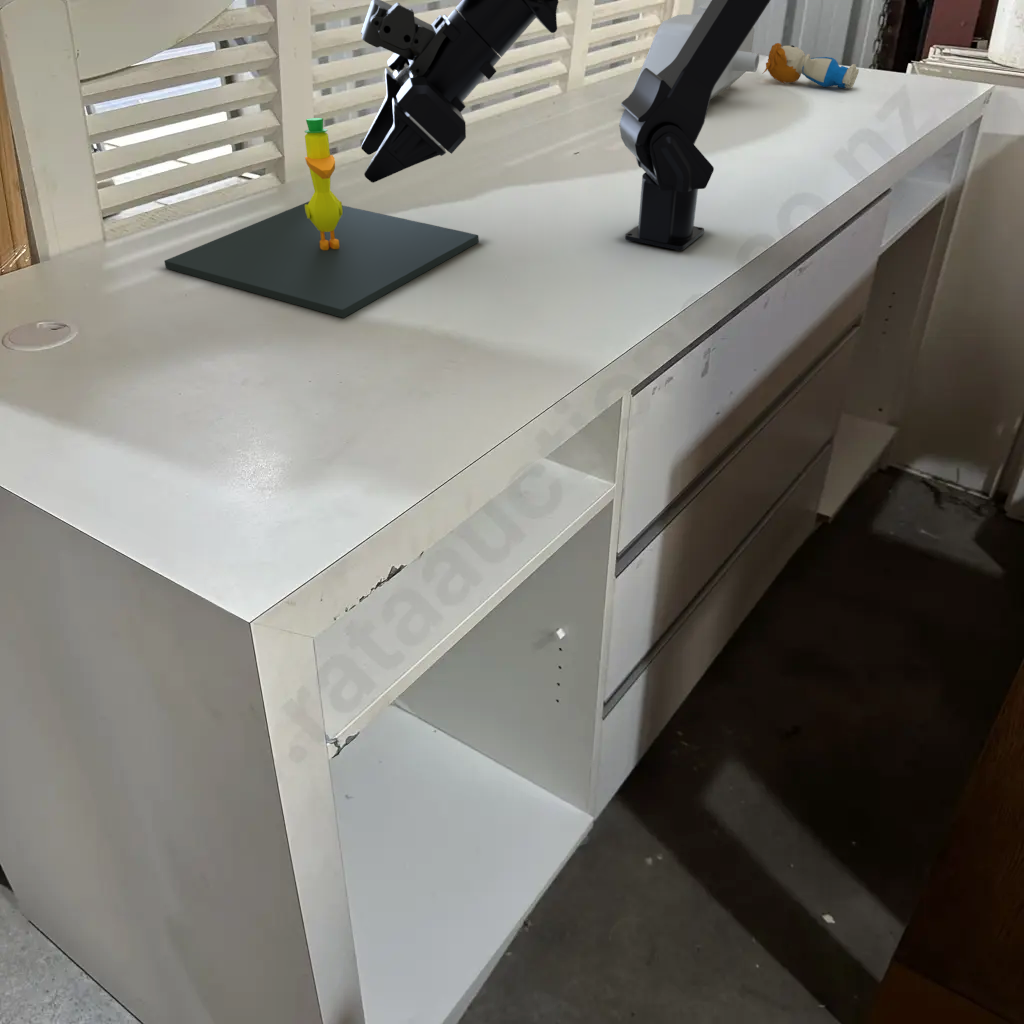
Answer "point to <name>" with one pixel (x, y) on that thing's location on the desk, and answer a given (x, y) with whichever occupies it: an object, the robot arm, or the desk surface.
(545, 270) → the desk surface
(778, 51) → the toy
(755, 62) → the tank
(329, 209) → the toy figure
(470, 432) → the desk surface
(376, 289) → the mat
